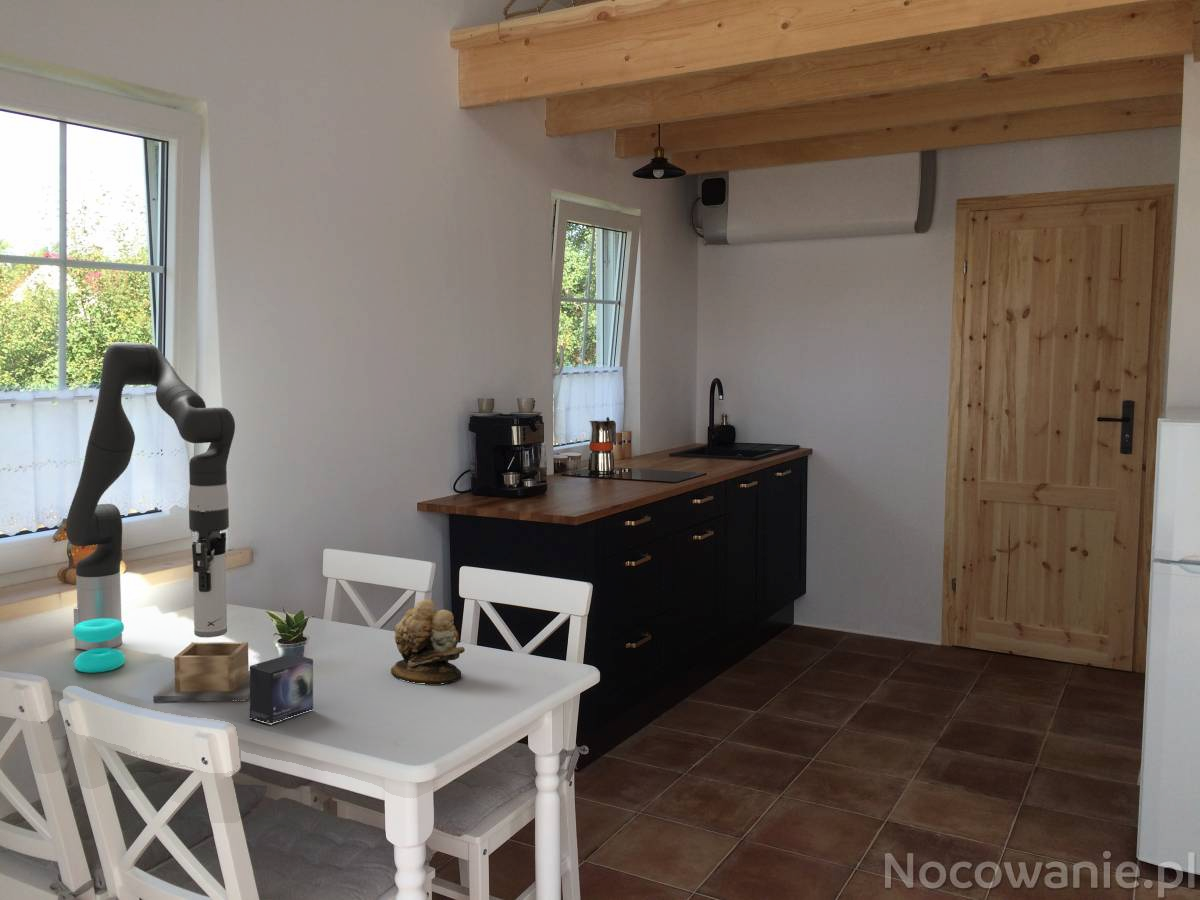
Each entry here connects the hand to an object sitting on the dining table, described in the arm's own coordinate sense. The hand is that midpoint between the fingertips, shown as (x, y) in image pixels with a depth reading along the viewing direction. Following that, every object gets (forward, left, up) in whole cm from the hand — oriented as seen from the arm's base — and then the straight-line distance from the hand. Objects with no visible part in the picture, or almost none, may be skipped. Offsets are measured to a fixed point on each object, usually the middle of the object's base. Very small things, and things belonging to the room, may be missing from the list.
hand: (210, 587), depth 207 cm
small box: (+18, -16, -21) cm, 32 cm away
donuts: (-29, +15, -21) cm, 39 cm away
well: (0, 0, -21) cm, 21 cm away
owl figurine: (+43, +8, -21) cm, 49 cm away
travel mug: (0, 0, -10) cm, 10 cm away
